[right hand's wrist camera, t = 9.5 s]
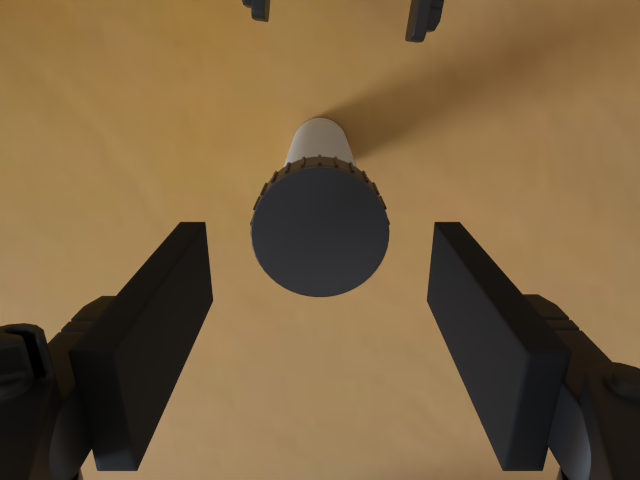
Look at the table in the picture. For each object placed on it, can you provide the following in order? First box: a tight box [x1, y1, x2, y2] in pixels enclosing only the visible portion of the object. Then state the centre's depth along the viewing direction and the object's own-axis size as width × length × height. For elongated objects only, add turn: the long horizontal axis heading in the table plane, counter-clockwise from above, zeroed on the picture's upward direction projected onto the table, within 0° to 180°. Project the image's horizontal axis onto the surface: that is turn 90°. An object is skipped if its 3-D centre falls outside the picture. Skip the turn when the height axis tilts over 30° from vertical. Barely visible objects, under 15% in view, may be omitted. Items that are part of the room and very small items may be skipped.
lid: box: [250, 155, 390, 297], centre depth 17 cm, size 5×5×2 cm
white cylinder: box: [283, 118, 357, 168], centre depth 25 cm, size 4×4×18 cm
